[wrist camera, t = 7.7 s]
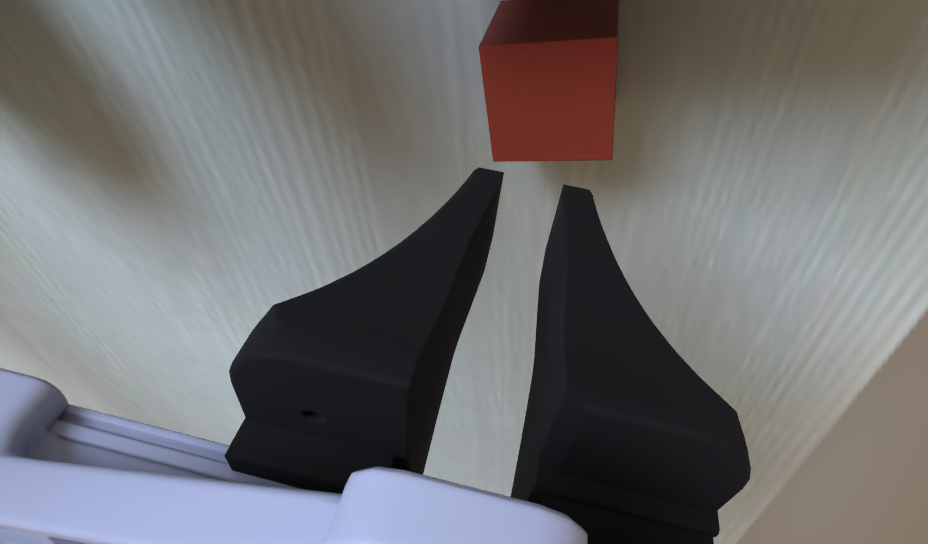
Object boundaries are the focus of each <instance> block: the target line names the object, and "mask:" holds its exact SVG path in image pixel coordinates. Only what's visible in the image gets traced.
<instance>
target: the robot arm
mask: <svg viewBox="0 0 928 544" xmlns="http://www.w3.org/2000/svg"><path fill="white" fill-rule="evenodd" d="M503 174H504V172H499V171H494V170H489V169H484V168H477V169H475V170H474V171H473V172H472V174H471V175H470V176H469V178H468V179H467V180H466V181H465V183H464V184H463V185H462V186H461V187H460V188H459V190H458V191H457V192H456V193H455V194H454V195H453V196H452V197H451V198H450V199H449V200H448V201H447V202H446V203H445V204H444V205H443V206H442V207H441V208H440V209H439V210H438V211H437V212H436V213H435V214H434V215H433V216H432V217H431V218H430V219H428V220H427V221H426V222H425V223H424V224H423V225H422V226H420V227H419V228H418V229H417V230H416V231H415V232H413V233H412V234H411V235H410V236H408V237H407V238H406V239H404V240H403V241H402V242H400V243H399V244H398V245H396V246H395V247H393V248H392V249H391V250H389V251H388V252H386V253H385V254H383V255H381V256H380V257H378V258H377V259H375V260H373V261H372V262H370V263H368V264H367V265H365V266H363V267H362V268H360V269H358V270H356V271H354V272H353V273H351V274H349V275H347V276H344V277H342V278H340V279H338V280H336V281H334V282H332V283H330V284H328V285H326V286H324V287H321V288H319V289H316V290H314V291H311V292H309V293H306V294H303V295H300V296H298V297H295V298H292V299H289V300H287V301H284V302H281V303H278V304H275V305H273V306H272V307H271V309H270V310H269V311H268V312H267V314H266V315H265V316H264V317H263V318H262V319H261V321H260V322H259V323H258V324H257V326H256V327H255V328H254V329H253V331H252V332H251V334H250V335H249V337H248V338H247V340H246V342H245V343H244V345H243V346H242V348H241V349H240V351H239V353H238V354H237V356H236V357H235V359H234V360H233V362H232V365H231V368H230V370H229V373H230V378H231V382H232V385H233V387H234V390H235V392H236V395H237V397H238V400H239V402H240V404H241V407H242V409H243V412H244V414H245V417H246V418H245V420H244V421H243V423H242V425H241V427H240V428H239V430H238V432H237V434H236V436H235V437H234V439H233V441H232V443H231V444H230V446H229V445H226V444H222V443H218V442H214V441H210V440H206V439H202V438H198V437H194V436H191V435H187V434H183V433H179V432H175V431H171V430H167V429H163V428H159V427H156V426H152V425H148V424H144V423H140V422H136V421H132V420H128V419H125V418H121V417H117V416H113V415H109V414H105V413H101V412H97V411H93V410H90V409H86V408H82V407H78V406H74V405H70V404H68V401H67V399H66V398H65V396H64V395H63V393H62V392H61V391H60V390H59V389H58V388H56V387H55V386H54V385H52V384H51V383H49V382H47V381H45V380H42V379H40V378H37V377H33V376H29V375H25V374H21V373H17V372H14V371H10V370H6V369H2V368H0V544H714V542H713V537H716V536H717V535H718V534H719V530H720V528H719V520H718V511H717V510H718V509H720V508H721V507H722V506H723V505H724V504H725V503H727V502H728V501H729V500H730V499H731V498H732V497H734V496H735V495H736V494H737V493H738V492H739V491H740V490H742V489H743V487H744V486H745V485H746V484H747V482H748V481H749V480H750V471H751V467H750V462H749V456H748V450H747V446H746V442H745V438H744V434H743V431H742V428H741V425H740V422H739V419H738V415H737V412H736V411H735V410H734V409H733V408H732V407H731V406H730V405H729V404H728V403H727V402H726V401H725V400H723V399H722V398H721V397H720V396H719V395H718V394H717V393H716V392H715V391H714V390H713V389H712V388H711V387H709V386H708V385H707V384H706V383H705V382H704V381H703V380H702V379H701V378H700V377H699V376H698V375H697V374H696V373H695V372H694V371H693V370H692V369H691V368H690V366H689V365H688V364H687V363H686V362H685V361H684V360H683V359H682V358H681V357H680V356H679V355H678V353H677V352H676V351H675V350H674V349H673V348H672V346H671V345H670V344H669V343H668V341H667V340H666V339H665V338H664V336H663V335H662V334H661V333H660V331H659V330H658V329H657V327H656V326H655V325H654V324H653V322H652V321H651V319H650V318H649V316H648V315H647V314H646V312H645V311H644V309H643V308H642V306H641V304H640V303H639V301H638V300H637V298H636V297H635V295H634V293H633V292H632V290H631V288H630V286H629V285H628V283H627V281H626V279H625V277H624V275H623V273H622V271H621V269H620V267H619V265H618V263H617V261H616V259H615V257H614V255H613V252H612V250H611V248H610V245H609V243H608V241H607V238H606V236H605V233H604V231H603V228H602V225H601V222H600V219H599V216H598V213H597V210H596V207H595V203H594V199H593V195H592V193H591V192H590V190H588V189H583V188H578V187H573V186H568V185H563V188H562V192H561V195H560V199H559V203H558V206H557V210H556V214H555V217H554V221H553V224H552V228H551V232H550V235H549V239H548V243H547V246H546V251H545V256H544V261H543V267H542V272H541V277H540V283H539V297H538V312H537V327H536V343H535V358H534V367H533V375H532V381H531V387H530V393H529V399H528V405H527V410H526V416H525V422H524V427H523V433H522V439H521V444H520V450H519V455H518V461H517V466H516V472H515V477H514V482H513V488H512V493H511V497H508V496H504V495H500V494H497V493H493V492H489V491H485V490H481V489H477V488H473V487H469V486H465V485H461V484H457V483H453V482H449V481H445V480H441V479H437V478H434V477H430V476H426V475H423V472H424V468H425V464H426V460H427V456H428V452H429V448H430V444H431V440H432V436H433V432H434V428H435V424H436V420H437V416H438V412H439V409H440V405H441V401H442V397H443V393H444V389H445V385H446V381H447V378H448V374H449V370H450V366H451V362H452V359H453V355H454V352H455V349H456V346H457V343H458V340H459V337H460V334H461V332H462V329H463V326H464V324H465V321H466V318H467V316H468V313H469V310H470V308H471V305H472V302H473V300H474V297H475V294H476V292H477V289H478V286H479V284H480V281H481V278H482V276H483V273H484V270H485V266H486V262H487V258H488V254H489V250H490V246H491V241H492V237H493V232H494V226H495V220H496V215H497V209H498V203H499V197H500V191H501V186H502V180H503Z"/></svg>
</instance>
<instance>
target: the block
mask: <svg viewBox="0 0 928 544" xmlns="http://www.w3.org/2000/svg"><path fill="white" fill-rule="evenodd" d="M618 21H619V0H509V1H501V2H500V4H499V6H498V8H497V10H496V12H495V14H494V16H493V18H492V20H491V22H490V25H489V27H488V29H487V31H486V33H485V35H484V37H483V39H482V41H481V43H480V45H479V53H480V61H481V69H482V76H483V84H484V92H485V100H486V108H487V116H488V124H489V131H490V139H491V147H492V155H493V161H577V160H612V155H613V133H614V112H615V91H616V69H617V48H618Z"/></svg>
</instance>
